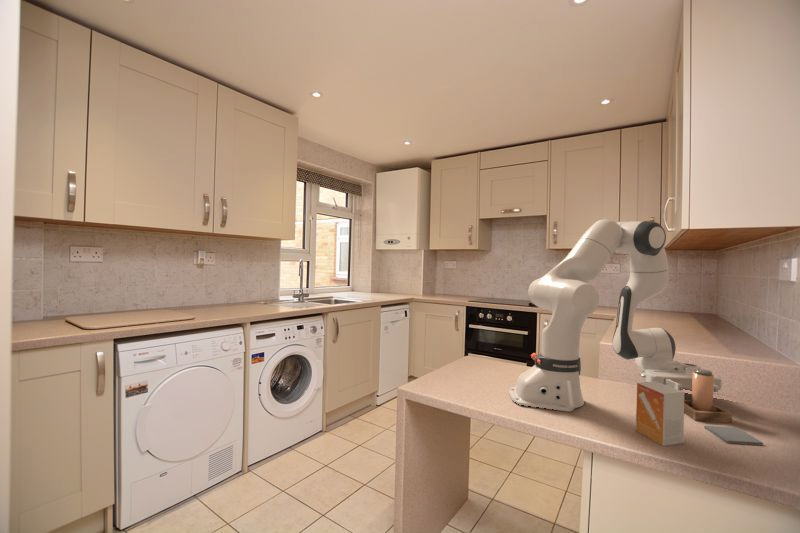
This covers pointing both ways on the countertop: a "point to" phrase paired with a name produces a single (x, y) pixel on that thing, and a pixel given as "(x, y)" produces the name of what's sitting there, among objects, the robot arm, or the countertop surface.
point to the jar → (702, 390)
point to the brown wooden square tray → (707, 413)
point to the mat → (733, 435)
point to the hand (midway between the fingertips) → (698, 388)
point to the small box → (660, 412)
